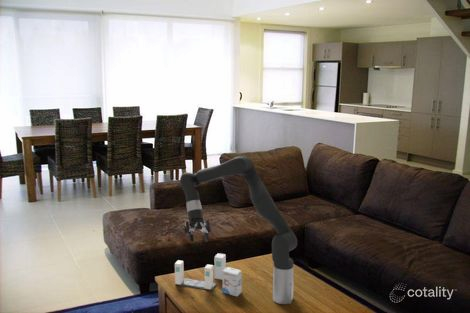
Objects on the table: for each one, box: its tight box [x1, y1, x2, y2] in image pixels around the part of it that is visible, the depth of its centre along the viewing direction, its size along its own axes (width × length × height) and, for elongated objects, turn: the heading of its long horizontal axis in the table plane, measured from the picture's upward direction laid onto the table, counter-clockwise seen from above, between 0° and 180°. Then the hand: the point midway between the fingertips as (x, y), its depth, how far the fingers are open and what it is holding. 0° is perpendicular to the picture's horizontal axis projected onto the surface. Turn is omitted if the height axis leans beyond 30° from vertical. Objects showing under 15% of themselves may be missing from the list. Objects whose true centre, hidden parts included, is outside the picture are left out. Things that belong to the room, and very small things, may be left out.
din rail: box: [174, 277, 217, 291], centre depth 220 cm, size 20×6×1 cm, turn 73°
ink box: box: [222, 266, 243, 297], centre depth 212 cm, size 9×5×12 cm, turn 62°
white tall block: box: [213, 252, 227, 281], centre depth 228 cm, size 4×5×12 cm
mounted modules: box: [174, 259, 214, 290], centre depth 217 cm, size 19×4×11 cm, turn 73°
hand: (199, 241), depth 217 cm, fingers open, 8 cm apart
